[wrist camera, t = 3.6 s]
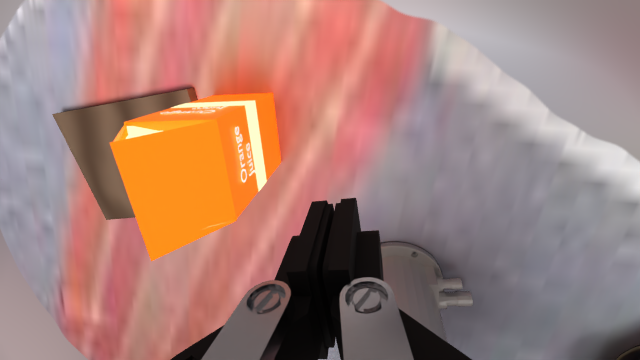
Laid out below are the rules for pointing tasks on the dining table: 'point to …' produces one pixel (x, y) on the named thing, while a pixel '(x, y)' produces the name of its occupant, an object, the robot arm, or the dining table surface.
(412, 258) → the robot arm
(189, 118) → the orange juice
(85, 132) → the walnut board
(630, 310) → the dining table surface
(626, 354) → the ceramic bowl
